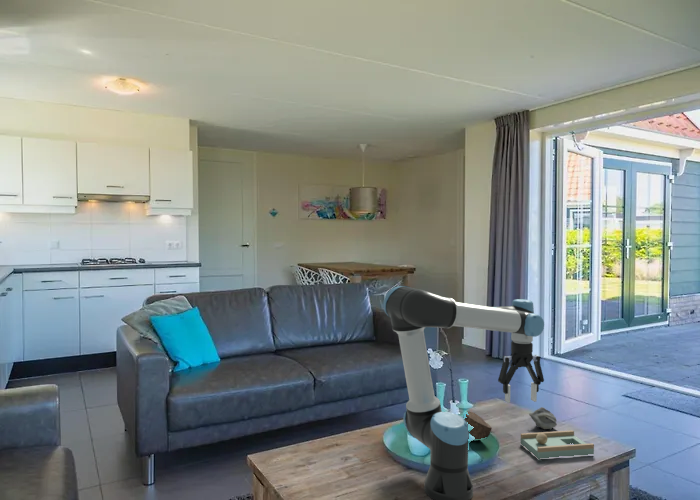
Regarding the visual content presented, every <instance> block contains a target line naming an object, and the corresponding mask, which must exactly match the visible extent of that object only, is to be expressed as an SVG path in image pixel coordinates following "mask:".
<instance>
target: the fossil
mask: <svg viewBox="0 0 700 500" xmlns="http://www.w3.org/2000/svg"><path fill="white" fill-rule="evenodd" d="M528 415H529V417H530V418H531V419H532V421H533V422H534V423H535V427H537V426H538V427H537V428H539V427H541V428H540V429H543V430H545V429H550V430H553V429H554V428H556V427H557V425H558V424H557V418H556V416H555V414H554V413H552V412H551V411H550V410H548V409H547V408H545V407H539V408H537V409H536V410H534V411H533V412H532V413H529V414H528ZM552 428H553V429H552Z"/></svg>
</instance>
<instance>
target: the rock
mask: <svg viewBox="0 0 700 500" xmlns="http://www.w3.org/2000/svg"><path fill="white" fill-rule="evenodd" d="M467 412H468V414H469V415H467V414H466V417H467V418H465V419H464V420H465V421H466V422H468V424H470V425H471V426H473V427H474V428H473V429H472V430H471V431H470V432H469V433H470V434H471V435H472V436H474V437H475V439H481V438H485V437H487V438H488V437H490V434H491V432H492V430H493V429H492V427H491V425H490V424H489V423H488V422H487V421H485V420H484V419H483V418H482V417H481V416H480V415H478V414H477V413H475V412H472V411H467Z"/></svg>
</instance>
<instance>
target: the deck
mask: <svg viewBox="0 0 700 500" xmlns="http://www.w3.org/2000/svg"><path fill="white" fill-rule="evenodd" d="M539 433H544V434H545V435H546V436H547V438H548V440H547V442H546V443H545V444H540V443H538V442H537V440H536V436H537V434H539ZM520 443H521V444H522V445H523V446H525V447H526V448H527V449H528V450H529V451H530V452H532V453H533V454H534V455H535V456H536V457H537V458H538V459H540V458H549V457H559V456H574V455H588V454H594V455H595V444H594V443H593V442H591V443H587V442H585V441H584V440H582V439H581V438H579V437H577V436H576V435H575V431H574V430H560V431H559V430H558V431H556V430H555V431H543V432H542V431H541V432H528V433H527V432H525V433H520ZM570 443H571V444H572V443H573V444H574V445H567V444H570Z"/></svg>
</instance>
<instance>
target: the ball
mask: <svg viewBox="0 0 700 500" xmlns="http://www.w3.org/2000/svg"><path fill="white" fill-rule="evenodd" d="M538 433H539V432H538ZM536 440H537V442H538V443H540V444H545V443H546V442H547V440H548V438H547V436H546V435H545V434H544V433H539V434H537V436H536Z"/></svg>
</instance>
